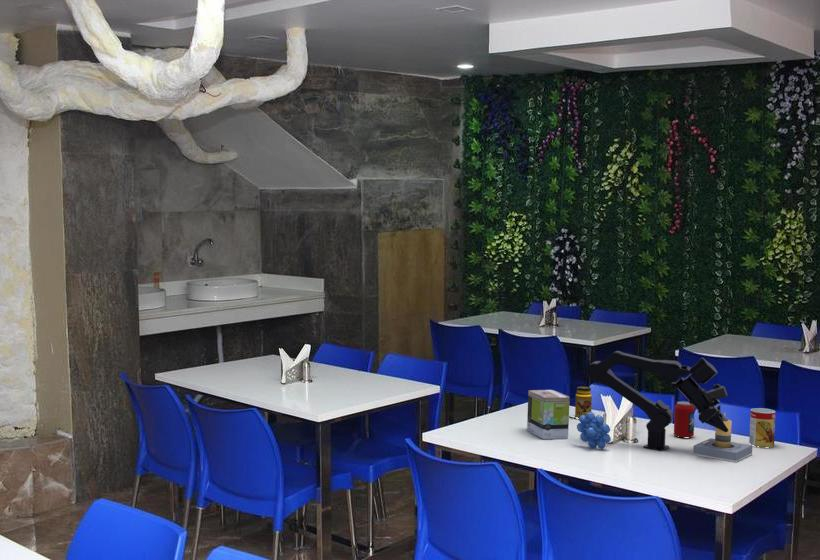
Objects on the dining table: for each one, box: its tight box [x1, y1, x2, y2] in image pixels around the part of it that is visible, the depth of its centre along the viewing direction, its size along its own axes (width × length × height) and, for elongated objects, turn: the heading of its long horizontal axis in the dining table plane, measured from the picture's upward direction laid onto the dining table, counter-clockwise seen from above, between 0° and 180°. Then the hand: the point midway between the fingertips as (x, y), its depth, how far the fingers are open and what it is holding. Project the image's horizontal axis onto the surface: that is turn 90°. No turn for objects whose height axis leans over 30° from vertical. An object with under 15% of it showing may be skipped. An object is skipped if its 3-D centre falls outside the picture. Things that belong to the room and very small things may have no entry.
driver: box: [714, 411, 733, 448], centre depth 306 cm, size 5×5×12 cm
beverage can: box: [673, 400, 696, 438], centre depth 330 cm, size 7×7×12 cm
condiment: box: [574, 385, 593, 418], centre depth 359 cm, size 7×8×12 cm
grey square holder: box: [692, 438, 753, 463], centre depth 306 cm, size 14×14×3 cm
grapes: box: [576, 411, 612, 450], centre depth 311 cm, size 12×7×12 cm, turn 60°
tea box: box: [526, 389, 571, 440], centre depth 331 cm, size 15×10×15 cm
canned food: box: [748, 407, 776, 448], centre depth 319 cm, size 8×8×12 cm
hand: (727, 429), depth 305 cm, fingers closed on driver, 5 cm apart
